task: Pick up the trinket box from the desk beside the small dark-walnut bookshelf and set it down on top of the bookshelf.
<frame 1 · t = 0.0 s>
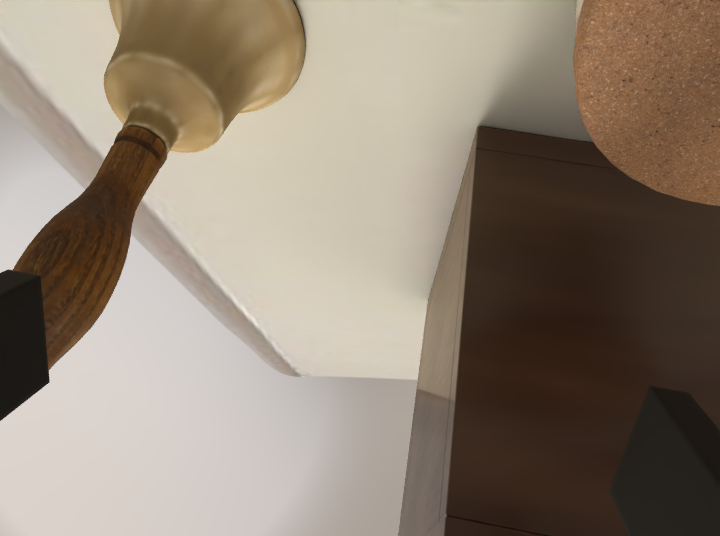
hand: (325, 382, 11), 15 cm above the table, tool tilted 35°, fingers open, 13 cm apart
hand bell: (211, 25, 22), on the table
bookshelf: (577, 254, 30), on the table
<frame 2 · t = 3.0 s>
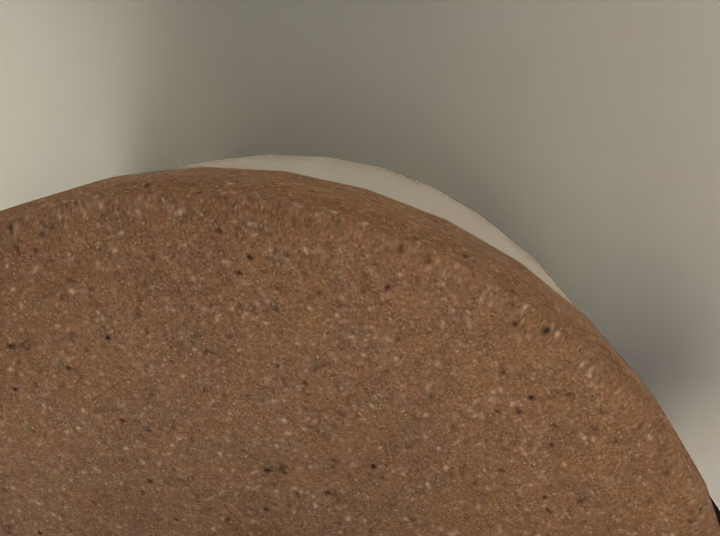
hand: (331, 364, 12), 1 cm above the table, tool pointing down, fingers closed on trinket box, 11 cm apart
trinket box: (342, 333, 14), on the table, touching gripper
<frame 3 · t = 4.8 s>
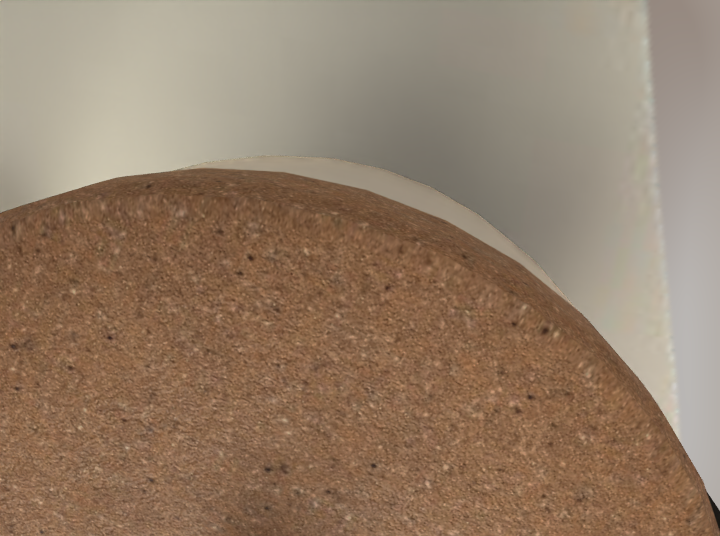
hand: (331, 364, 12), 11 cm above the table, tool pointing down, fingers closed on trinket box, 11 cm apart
trinket box: (342, 333, 14), point 10 cm above the table, touching gripper
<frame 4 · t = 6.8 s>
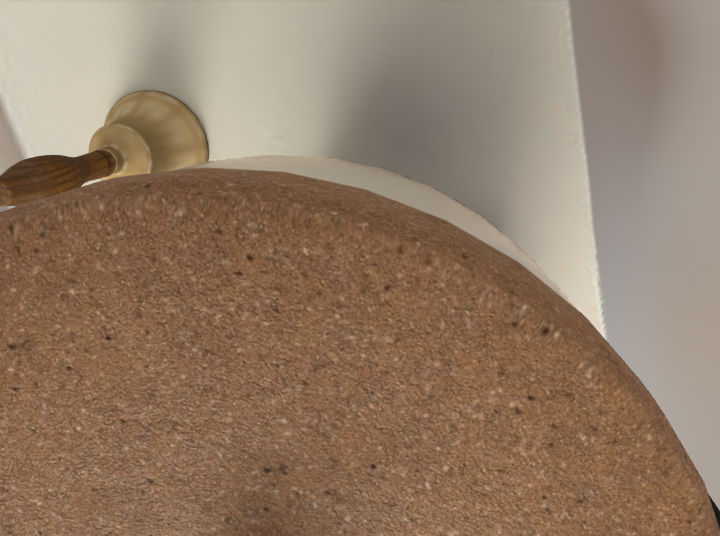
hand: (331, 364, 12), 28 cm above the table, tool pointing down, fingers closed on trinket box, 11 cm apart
hand bell: (157, 147, 40), on the table
trinket box: (342, 334, 14), point 27 cm above the table, touching gripper
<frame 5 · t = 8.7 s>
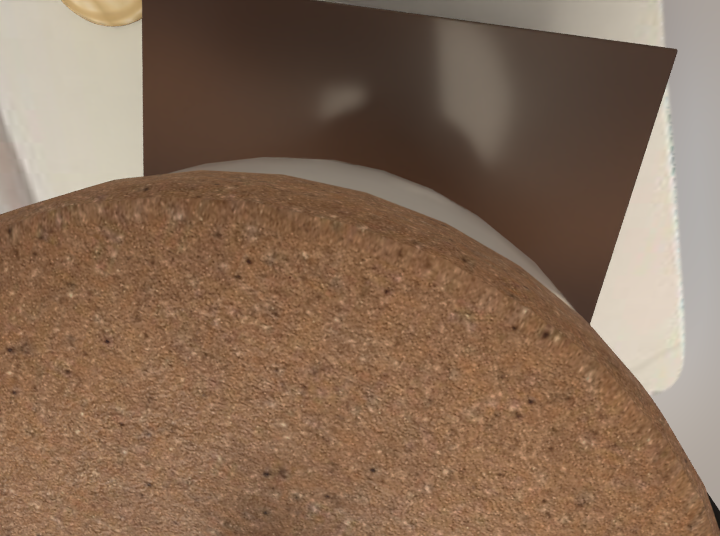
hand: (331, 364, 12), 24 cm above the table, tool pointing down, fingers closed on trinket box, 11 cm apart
trinket box: (341, 335, 14), point 22 cm above the table, touching gripper
bookshelf: (395, 181, 34), on the table
when the fingers open (19 cm above the table, at t = 10.4 s): trinket box stays where it is, resting on bookshelf.
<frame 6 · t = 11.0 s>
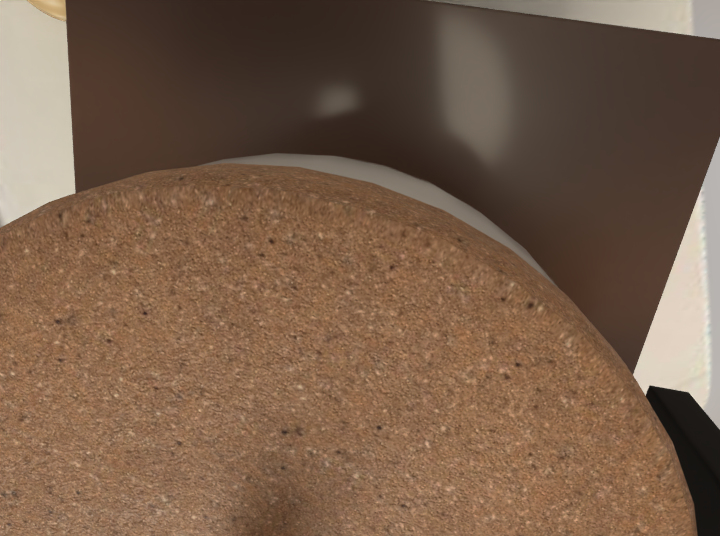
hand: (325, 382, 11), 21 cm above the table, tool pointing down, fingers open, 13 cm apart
trinket box: (346, 325, 14), point 18 cm above the table, touching bookshelf
bookshelf: (391, 194, 31), on the table
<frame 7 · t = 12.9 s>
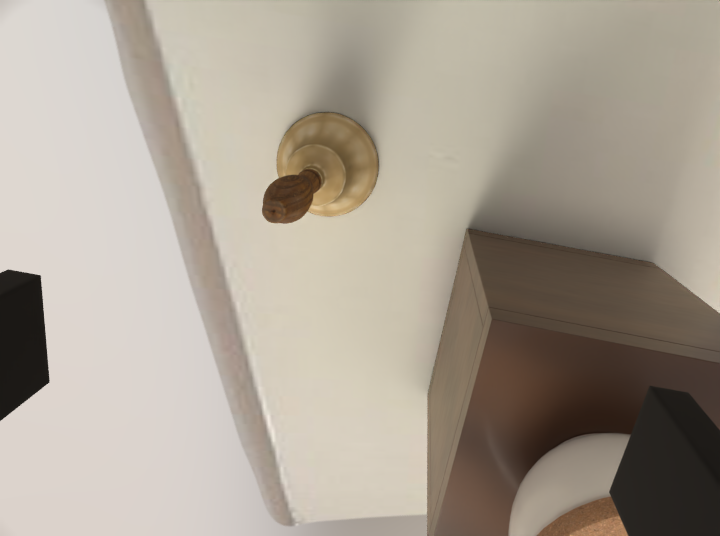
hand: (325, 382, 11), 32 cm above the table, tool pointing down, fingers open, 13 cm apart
hand bell: (328, 165, 43), on the table
trinket box: (594, 478, 28), point 18 cm above the table, touching bookshelf
bookshelf: (532, 333, 45), on the table
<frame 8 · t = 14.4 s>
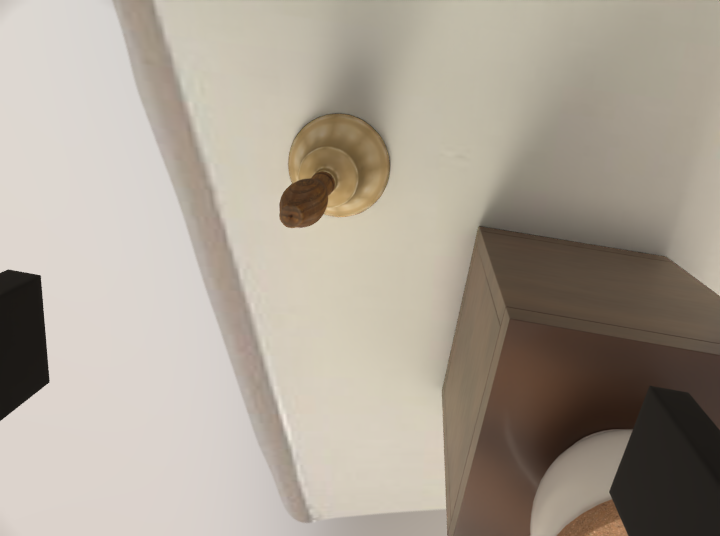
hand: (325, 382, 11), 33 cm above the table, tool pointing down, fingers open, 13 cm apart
hand bell: (339, 166, 43), on the table
trinket box: (613, 473, 28), point 18 cm above the table, touching bookshelf
bookshelf: (545, 329, 45), on the table
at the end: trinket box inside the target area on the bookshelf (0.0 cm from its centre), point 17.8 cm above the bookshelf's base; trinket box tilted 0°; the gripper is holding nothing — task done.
